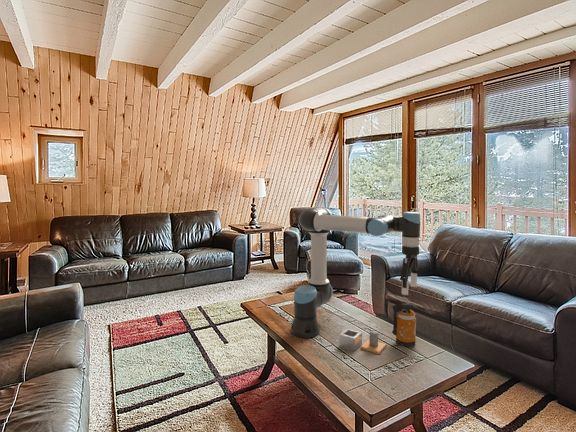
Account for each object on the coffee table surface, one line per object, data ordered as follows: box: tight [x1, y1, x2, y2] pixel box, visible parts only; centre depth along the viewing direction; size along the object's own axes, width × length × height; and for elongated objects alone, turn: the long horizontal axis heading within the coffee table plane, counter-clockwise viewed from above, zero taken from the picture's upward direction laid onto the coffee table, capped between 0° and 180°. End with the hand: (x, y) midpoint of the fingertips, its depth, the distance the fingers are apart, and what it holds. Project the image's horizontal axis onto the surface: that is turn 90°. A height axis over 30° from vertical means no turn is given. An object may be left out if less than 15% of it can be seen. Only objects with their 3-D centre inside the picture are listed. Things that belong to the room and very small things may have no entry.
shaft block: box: [360, 330, 387, 355], centre depth 163 cm, size 9×9×8 cm
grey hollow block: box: [338, 327, 363, 352], centre depth 166 cm, size 8×8×6 cm
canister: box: [391, 301, 417, 347], centre depth 167 cm, size 9×11×20 cm
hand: (409, 290), depth 161 cm, fingers open, 13 cm apart
